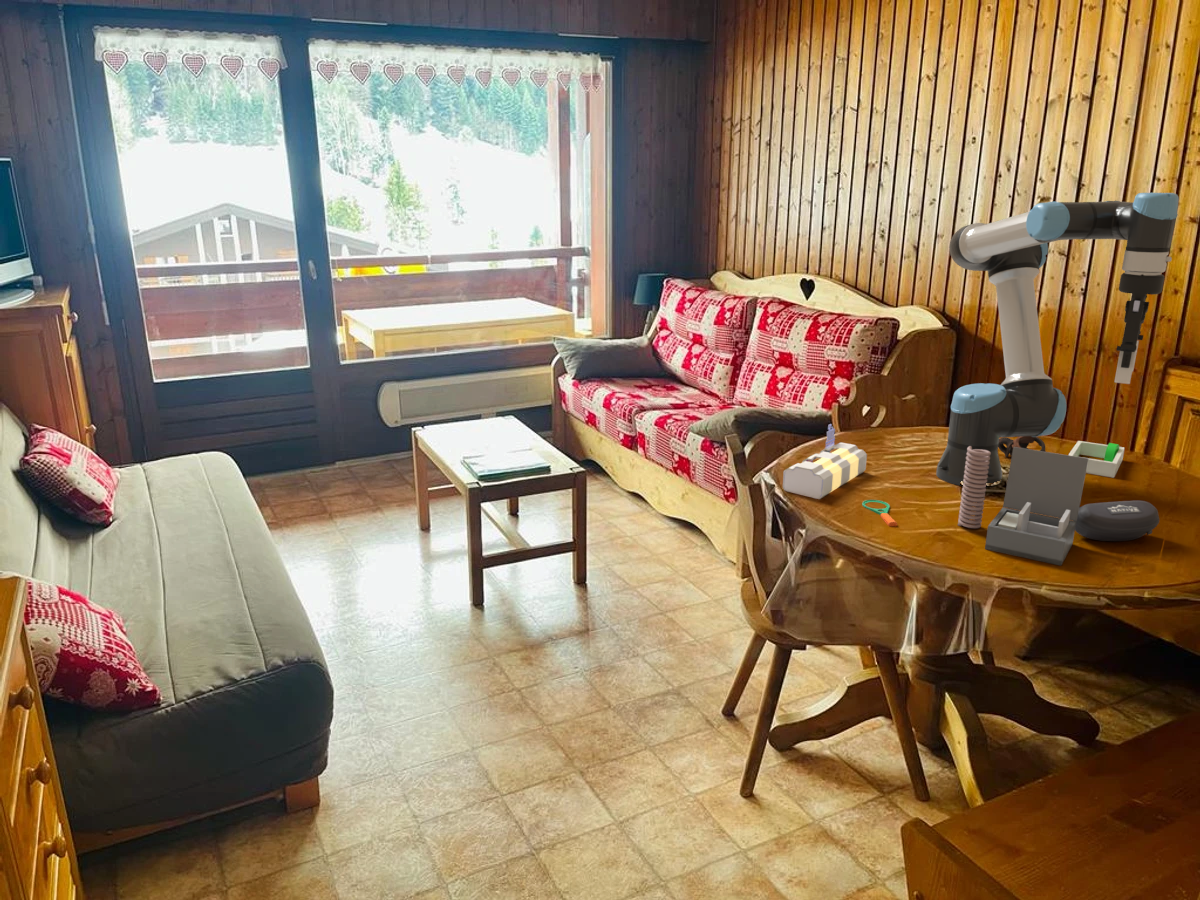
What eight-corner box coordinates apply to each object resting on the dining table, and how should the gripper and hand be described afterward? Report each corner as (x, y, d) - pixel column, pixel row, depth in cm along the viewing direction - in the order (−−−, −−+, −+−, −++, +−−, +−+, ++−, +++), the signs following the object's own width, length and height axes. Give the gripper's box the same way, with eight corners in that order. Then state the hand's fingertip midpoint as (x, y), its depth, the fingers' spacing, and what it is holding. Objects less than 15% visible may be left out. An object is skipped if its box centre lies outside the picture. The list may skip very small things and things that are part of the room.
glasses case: (1088, 550, 176) (1095, 514, 173) (1055, 530, 186) (1060, 496, 183) (1167, 544, 178) (1175, 508, 176) (1130, 525, 188) (1136, 491, 186)
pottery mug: (1042, 459, 233) (1052, 438, 227) (1034, 482, 228) (1044, 461, 222) (996, 443, 238) (1005, 422, 232) (987, 466, 233) (995, 445, 227)
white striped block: (827, 468, 227) (830, 420, 223) (865, 476, 221) (869, 427, 217) (782, 494, 209) (785, 442, 205) (821, 503, 202) (825, 450, 198)
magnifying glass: (858, 504, 202) (858, 497, 202) (883, 504, 202) (884, 497, 202) (878, 529, 188) (879, 522, 187) (906, 529, 188) (907, 522, 187)
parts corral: (1064, 470, 223) (1067, 456, 222) (1075, 454, 236) (1078, 440, 235) (1113, 478, 217) (1116, 463, 216) (1122, 461, 230) (1124, 447, 229)
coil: (979, 525, 188) (990, 446, 183) (981, 533, 184) (992, 452, 179) (956, 522, 190) (966, 444, 185) (957, 530, 186) (967, 450, 180)
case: (984, 548, 176) (996, 465, 171) (1003, 524, 189) (1014, 446, 183) (1061, 565, 168) (1075, 478, 163) (1074, 539, 181) (1088, 457, 175)
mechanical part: (1127, 479, 224) (1132, 449, 222) (1101, 474, 228) (1106, 445, 225) (1137, 468, 232) (1143, 440, 230) (1112, 464, 236) (1117, 436, 234)
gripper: (1163, 280, 162) (1142, 390, 168) (1166, 268, 182) (1147, 367, 188) (1117, 277, 166) (1098, 386, 172) (1125, 266, 185) (1107, 363, 192)
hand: (1124, 376), depth 180 cm, fingers open, 13 cm apart
